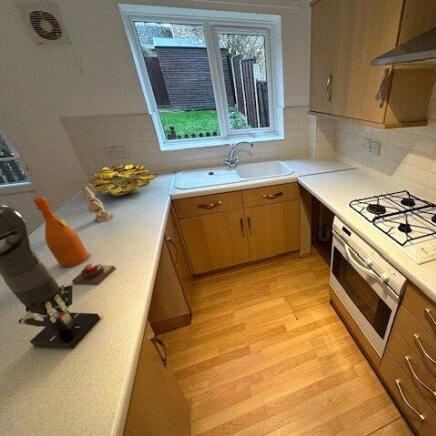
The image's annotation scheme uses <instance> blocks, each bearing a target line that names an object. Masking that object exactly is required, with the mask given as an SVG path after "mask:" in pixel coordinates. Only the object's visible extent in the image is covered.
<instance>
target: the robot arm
mask: <svg viewBox="0 0 436 436" xmlns="http://www.w3.org/2000/svg"><path fill="white" fill-rule="evenodd" d="M26 222H27V221H26V219H25V217H24V216H23V214H22V213H21V212H20V211H19V210H18V209H16V208H13V207H12V206H9V205H8V206H7V205H0V241H2V240H4V241H3V243H2V244H1V245H0V276H1V277H2V279H3V282H4V283H5V285H6V286H7V287H8V288H9V289H10V290H11V292H12V293H13V294H14V296H15V297H16V298H17V299H18V300H19V302H20V303H21V304H22V305H23V306H24V307H25V312H26V313H25V315H24V317H22V318H19V320H18V321H17V323H18V324H21V325H27V326H31V327H43V328H45V327H47V326H50V327H51V329H52V330H62V329H63V328H64V327H63V326H62V324H61V323H60V322H59V320H57V319H56V317H55V315H54V314H55V312H68V314H69V315H70V316H71V314H70V313H71V312H70V311H69V307H70V306H72V305H73V285H71V284H62V285H61V286H59V284H58V282H57V281H56V280H55V277H54V276H53V274H52V273H51V272H50V270H49V269H48V267H47V266H46V265H45V263H43V262H42V261H41V259H40V257H39V256H38V255H37V253H36V252H35V250H34V249H33V247H32V243H31V239H30V236H29V230H28V225H27V223H26ZM69 312H70V313H69ZM34 314H37V315H38V316H39V318H41V319H42V320H40V319H37V317H36V316H35V315H34ZM71 318H72V316H71Z"/></svg>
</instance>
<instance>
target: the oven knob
mask: <svg viewBox="0 0 436 436" xmlns="http://www.w3.org/2000/svg"><path fill="white" fill-rule="evenodd" d="M54 312H55V314H54V315H55V317H56V319H57V320H59V322H60V323H61V324H62V326H63V327H64V328H63V329H62V330H70V329H71V328H72V327H73V326H74V325H75V322H74V321H73V319H72V318H71V316H70V315H69V314H68V312H57V311H54Z"/></svg>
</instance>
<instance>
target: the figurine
mask: <svg viewBox="0 0 436 436" xmlns="http://www.w3.org/2000/svg"><path fill="white" fill-rule="evenodd" d="M81 191H82V193H83V194H84V198H85V199H86V200H87V206H86V207H87V210H88V212H89V213H90V214H91V213H92V214H94V213H95V220H96V222H98V223H102V222H103V223H104V222H107V221H108V220H110V219H111V218H112V217H113V213H110V212H109V211H108V210H106V209H104V205H103V202H102V201H100V199H98V198H97V197H96V195H95V193H94V192H92V191H91V190H90V188H89V187H88V186H83V187H81Z"/></svg>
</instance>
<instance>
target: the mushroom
mask: <svg viewBox="0 0 436 436" xmlns="http://www.w3.org/2000/svg"><path fill="white" fill-rule="evenodd" d="M144 167H145V166H144V164H143V163H138V164H136V165H133V164H132V163H131V164H126V165H122V164H114V165H112V169H111V168H109V167H108V166H104V167H102V168H101V171H99V172H97V173H95V174H94V176H95V177H96V178H93V179H91V180H89V181H88V182H86V183H87V185H89V186H94V188H93V192H96V193H101V194H102V193H103V194H104V193H109V192H110V193H111V195H112V196H122V195H129V194H132V193H135V192H136V191H137V190H138V188H145V187H147V186H148V185H150V183H151V181H153V180H155V179H157V177H158V174H157V173H151V174H150V173H149V172H150V170H149V169H146V168H144ZM130 177H137V178H130ZM112 179H113V180H115V179H117V180H118V179H122V180H123V179H124V180H123V181H121V183H120V182H116V183H115V182H112Z"/></svg>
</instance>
